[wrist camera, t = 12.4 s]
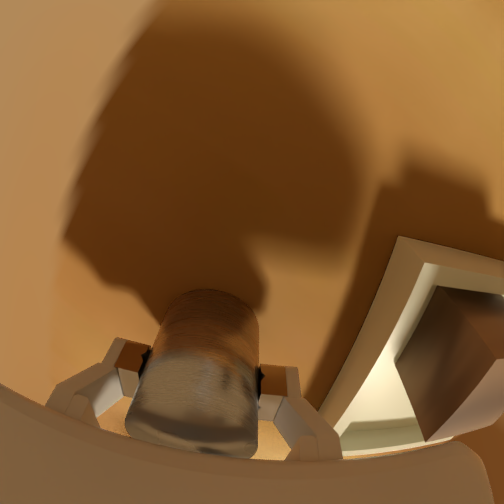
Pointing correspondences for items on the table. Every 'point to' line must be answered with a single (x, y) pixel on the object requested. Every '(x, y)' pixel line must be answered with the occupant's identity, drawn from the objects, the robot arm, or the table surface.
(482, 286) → the tray
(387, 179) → the table surface
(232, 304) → the metal cylinder
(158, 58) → the table surface
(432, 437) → the walnut block
